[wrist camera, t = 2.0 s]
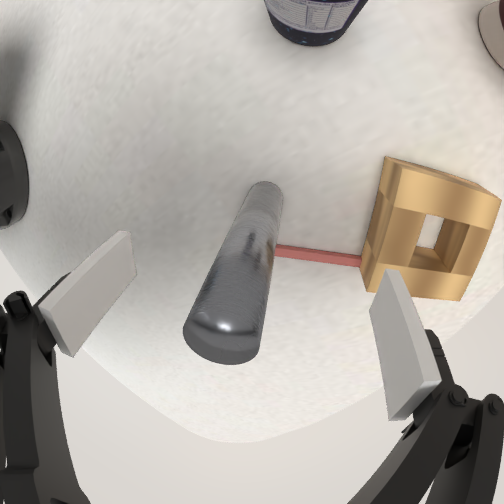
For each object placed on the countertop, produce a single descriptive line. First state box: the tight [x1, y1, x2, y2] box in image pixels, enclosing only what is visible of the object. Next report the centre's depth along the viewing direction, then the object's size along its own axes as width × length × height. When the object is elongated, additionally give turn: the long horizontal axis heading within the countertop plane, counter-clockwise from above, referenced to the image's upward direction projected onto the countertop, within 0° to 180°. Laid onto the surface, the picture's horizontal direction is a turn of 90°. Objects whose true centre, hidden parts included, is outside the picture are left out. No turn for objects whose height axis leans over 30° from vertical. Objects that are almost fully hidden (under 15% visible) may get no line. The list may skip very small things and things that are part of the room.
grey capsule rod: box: [183, 182, 283, 365], centre depth 16 cm, size 3×3×15 cm
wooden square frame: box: [359, 156, 502, 301], centre depth 19 cm, size 10×10×4 cm
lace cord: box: [275, 245, 362, 267], centre depth 24 cm, size 12×1×1 cm, turn 86°
